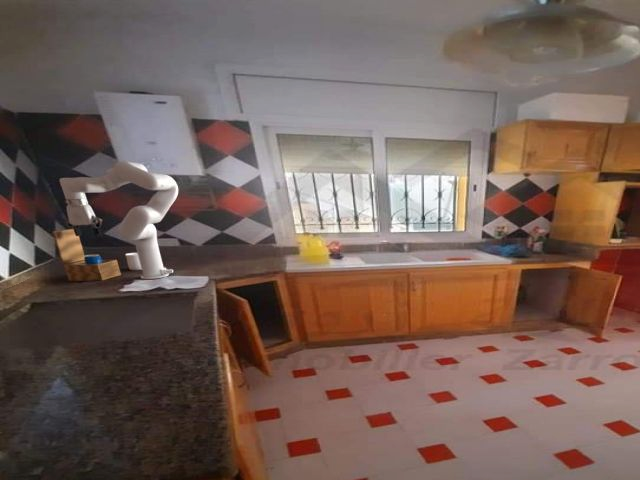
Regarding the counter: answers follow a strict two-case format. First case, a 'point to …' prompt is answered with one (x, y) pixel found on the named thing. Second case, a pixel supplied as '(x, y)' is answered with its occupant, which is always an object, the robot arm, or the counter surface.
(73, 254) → the lid
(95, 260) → the beverage can
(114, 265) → the chest
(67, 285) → the counter surface
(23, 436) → the counter surface
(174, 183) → the robot arm
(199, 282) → the counter surface
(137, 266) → the cup
